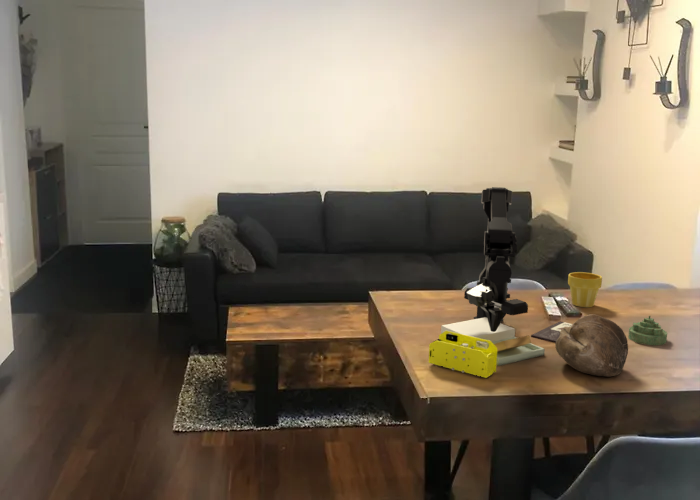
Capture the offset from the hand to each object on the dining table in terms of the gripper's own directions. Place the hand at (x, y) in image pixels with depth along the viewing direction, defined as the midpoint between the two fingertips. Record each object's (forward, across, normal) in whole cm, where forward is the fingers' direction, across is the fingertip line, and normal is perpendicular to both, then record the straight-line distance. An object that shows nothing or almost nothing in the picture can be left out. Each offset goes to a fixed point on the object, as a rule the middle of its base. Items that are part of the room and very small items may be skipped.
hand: (493, 331), depth 202 cm
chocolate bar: (+5, 0, +26) cm, 27 cm away
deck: (+4, -6, 0) cm, 7 cm away
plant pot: (+5, -17, +55) cm, 58 cm away
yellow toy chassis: (+5, +9, -18) cm, 21 cm away
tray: (+4, +6, 0) cm, 7 cm away
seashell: (+5, +23, +11) cm, 26 cm away
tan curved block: (+1, +6, 0) cm, 6 cm away
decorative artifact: (+5, +16, +44) cm, 47 cm away
